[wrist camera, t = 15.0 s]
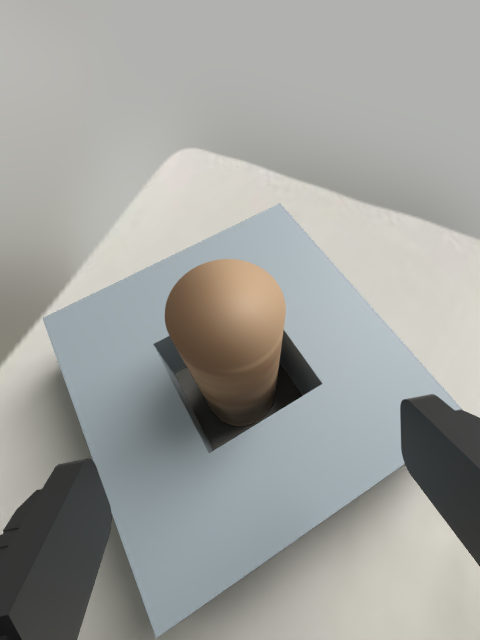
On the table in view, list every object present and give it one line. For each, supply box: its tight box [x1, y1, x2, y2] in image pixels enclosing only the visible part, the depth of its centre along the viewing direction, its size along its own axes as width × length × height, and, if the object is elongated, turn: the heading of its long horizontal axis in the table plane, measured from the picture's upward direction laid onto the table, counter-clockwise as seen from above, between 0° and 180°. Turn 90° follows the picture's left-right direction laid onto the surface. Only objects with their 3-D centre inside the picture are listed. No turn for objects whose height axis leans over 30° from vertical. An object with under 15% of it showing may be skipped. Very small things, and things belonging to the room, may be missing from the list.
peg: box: [165, 259, 286, 426], centre depth 18 cm, size 4×4×11 cm
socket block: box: [43, 204, 462, 638], centre depth 20 cm, size 16×16×5 cm
